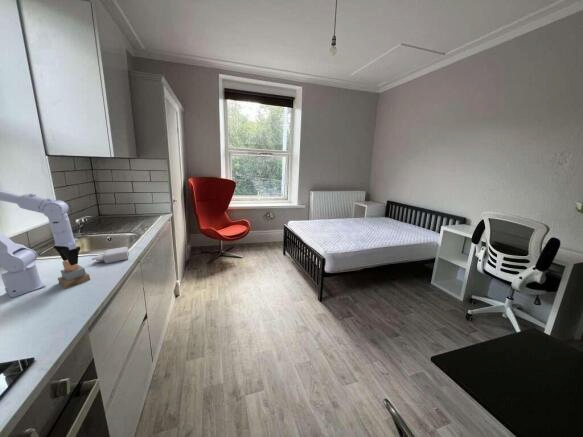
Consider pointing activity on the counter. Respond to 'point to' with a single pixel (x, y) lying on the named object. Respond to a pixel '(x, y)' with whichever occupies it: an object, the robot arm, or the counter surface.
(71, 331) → the counter surface
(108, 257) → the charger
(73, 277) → the upper block
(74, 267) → the cylinder
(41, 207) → the robot arm
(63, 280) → the base slab
